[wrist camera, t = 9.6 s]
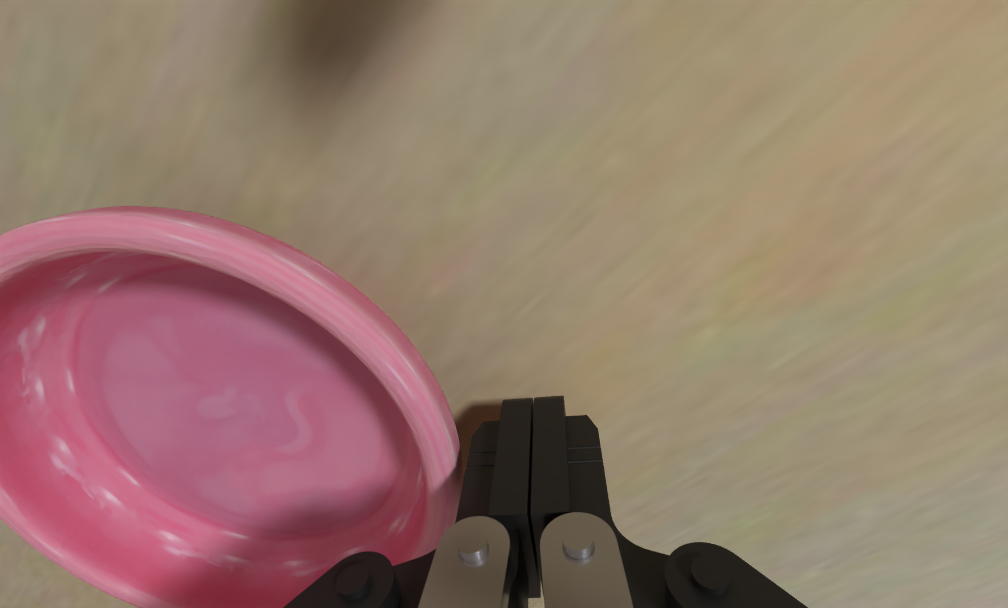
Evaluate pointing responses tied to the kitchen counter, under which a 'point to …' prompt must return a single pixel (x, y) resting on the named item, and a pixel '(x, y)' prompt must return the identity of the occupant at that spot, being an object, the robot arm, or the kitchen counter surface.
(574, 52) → the kitchen counter surface
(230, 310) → the pink shallow bowl
